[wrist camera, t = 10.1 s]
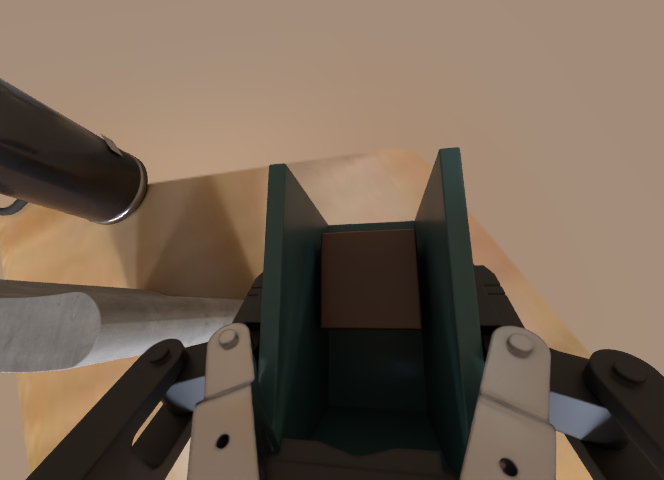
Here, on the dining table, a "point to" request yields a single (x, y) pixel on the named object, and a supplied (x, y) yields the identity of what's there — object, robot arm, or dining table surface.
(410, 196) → the dining table surface
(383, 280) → the walnut block
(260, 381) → the teal open box
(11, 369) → the hip flask
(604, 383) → the robot arm
